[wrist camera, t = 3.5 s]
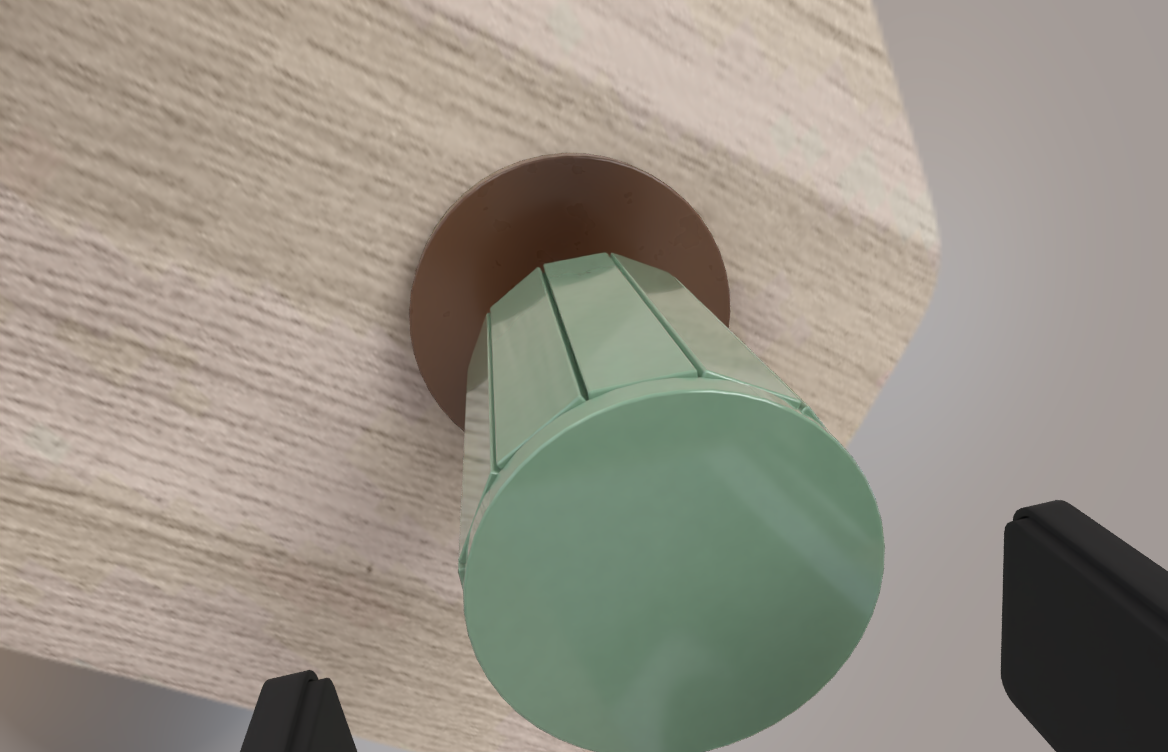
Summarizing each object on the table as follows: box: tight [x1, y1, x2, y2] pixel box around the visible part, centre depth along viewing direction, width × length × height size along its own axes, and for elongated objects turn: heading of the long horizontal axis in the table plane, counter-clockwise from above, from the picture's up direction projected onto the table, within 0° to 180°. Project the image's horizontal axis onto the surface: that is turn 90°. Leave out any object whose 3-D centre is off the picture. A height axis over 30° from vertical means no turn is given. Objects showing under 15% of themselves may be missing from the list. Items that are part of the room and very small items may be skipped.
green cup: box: [458, 252, 885, 752], centre depth 17 cm, size 7×7×10 cm
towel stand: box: [409, 153, 730, 432], centre depth 21 cm, size 11×11×16 cm
